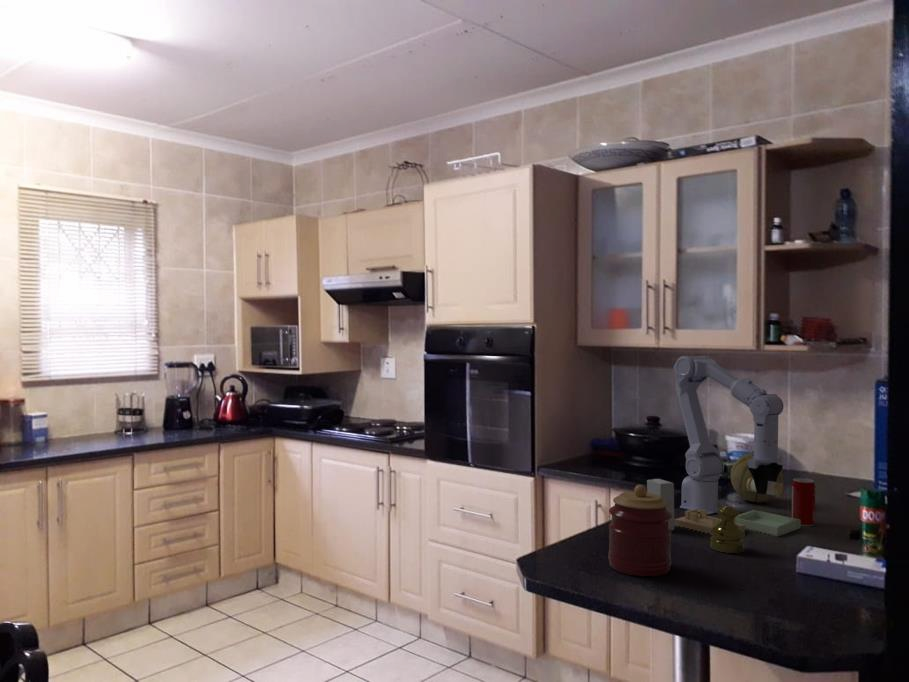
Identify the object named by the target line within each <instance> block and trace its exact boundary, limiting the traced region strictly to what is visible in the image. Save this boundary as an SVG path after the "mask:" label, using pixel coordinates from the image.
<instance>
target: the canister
mask: <svg viewBox="0 0 909 682" xmlns="http://www.w3.org/2000/svg"><path fill="white" fill-rule="evenodd" d="M612 501H613V503H614V505H613V506H611V507H610V508H609V510H608V512H609V514H610V517H611V519H610V523H609V525H608V528H609V540H608V541H609V543H608V545H609V547H608V553H607V554H608V558H607V559H608V561H609V566H610V567H611V568H612V569H613V570H614V571H616V572H618V573H619V572H620V573H622V574H625V575H630V576H634V575H635V576H636V577H644V576H652V577H660V576H663V574H664V575H666V574H667V573H669V572H670V569H671V567H672V557H671V538H672V537H671V534H672V531H673V530H671V528H670V527H669V519H670V518H671V517H672V514H671V513H670V512H669V511H668V510H667V509H666V507H667V505H668V503H667V501H665V500H664V499H662V498H661V497H660V496H659V495H656V494H653V493H648V492H647V486H645V485H643V484H637V485H635V487H634V489H633V491H623V492H621V493H620V494H619V495H616V496H615V497H613V499H612ZM659 575H660V576H659Z"/></svg>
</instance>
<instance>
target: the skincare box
mask: <svg viewBox="0 0 909 682" xmlns="http://www.w3.org/2000/svg"><path fill="white" fill-rule="evenodd" d="M646 484H647V485H646V490H647V492H648V493H653V494H656V495H659V496H660V497H661V498H662V499H664V500H665V501H667V503H668V505H667V507H666V509H667V510H668V511H669V512H670V513H671V514H672V517H671V518H670V519H669V527H670V528H671V531H675V483H674V482H671V481H668V480H666V479H665V480H664V479H661V478H652V479H647V480H646Z"/></svg>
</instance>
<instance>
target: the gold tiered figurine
mask: <svg viewBox="0 0 909 682" xmlns="http://www.w3.org/2000/svg"><path fill="white" fill-rule="evenodd" d="M716 514H718V516H720V519H721V521H720V522H719V523H718V524H717V525H716V526H713V527H712V528H711V530H710V532H711V534H710V535H711V537H709V538H710V542H709V543H710V544H709V545H710V548H711V549H712V550H713V549H714V551H715V550H717V551H716V552H718V551H720V552H719V553H722V552H725V553H724V554H729V553H738V554H742V553H743V552H744V551H745V541H744V538H745V531H743V530H741V529H740V528H738V526H737V525H736V524H735V523H734V518H735V517H736V516H738V515H739V514H740V511H738V510H737V509H736V508H733V507H732V506H731V505H724V506H720V507H719V509H717V510H716ZM741 552H742V553H741Z"/></svg>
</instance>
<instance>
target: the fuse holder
mask: <svg viewBox="0 0 909 682" xmlns="http://www.w3.org/2000/svg"><path fill="white" fill-rule="evenodd" d="M720 521H721V518H717V517H713V516H709V515H708V514H707V511H706V510H702V509H701V510H700V512H698V509H696V508H695V509H692V510H688V509H687V510H684V516H681V517H678V518H674V527H679V526H680V528H683V527H685V528H684V529H687V528H689V529H688V530H691V529H693V530H692V531H695V530H697V531H696V532H699V531H701V532H700V533H703V532H705V533H704V534H707V533H710V534H709V535H711V532H710V530H711V528H712V527H713V526H716V525H717V524H718V523H719V522H720ZM734 523H735V524H736V525H737V526H738V528H740V529H741V530H743V531H744V532H746V529H745V525H744V524H740V523H736V522H735V518H734Z"/></svg>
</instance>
